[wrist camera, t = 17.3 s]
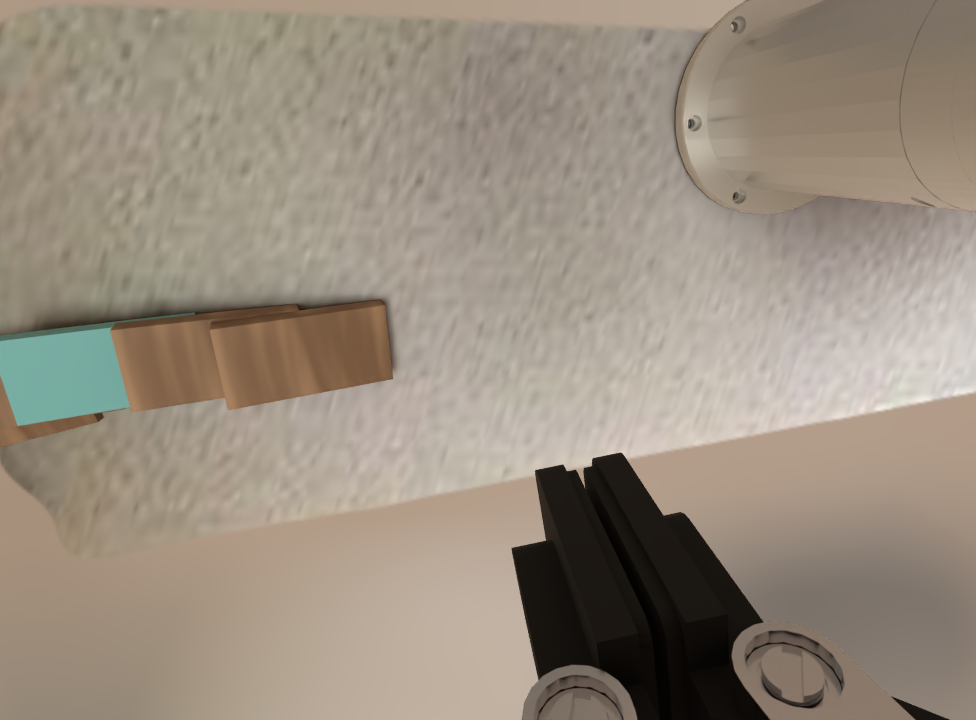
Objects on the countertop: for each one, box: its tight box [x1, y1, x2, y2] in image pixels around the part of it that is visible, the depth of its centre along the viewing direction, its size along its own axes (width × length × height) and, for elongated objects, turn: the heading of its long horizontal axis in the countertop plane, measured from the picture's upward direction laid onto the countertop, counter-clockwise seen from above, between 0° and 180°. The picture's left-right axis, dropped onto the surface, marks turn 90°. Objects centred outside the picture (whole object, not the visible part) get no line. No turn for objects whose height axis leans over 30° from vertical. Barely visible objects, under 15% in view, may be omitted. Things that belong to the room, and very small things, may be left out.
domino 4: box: [210, 300, 393, 410], centre depth 34 cm, size 2×5×10 cm
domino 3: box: [110, 304, 299, 412], centre depth 34 cm, size 2×5×10 cm
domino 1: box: [0, 312, 196, 426], centre depth 33 cm, size 2×5×10 cm
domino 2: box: [0, 413, 103, 447], centre depth 36 cm, size 2×5×10 cm
